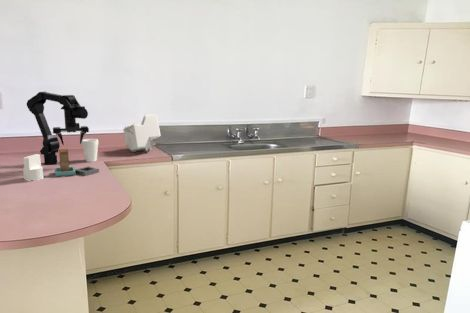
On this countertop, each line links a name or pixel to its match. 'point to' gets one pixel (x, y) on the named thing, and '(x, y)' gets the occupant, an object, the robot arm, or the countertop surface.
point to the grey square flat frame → (86, 171)
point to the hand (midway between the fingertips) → (71, 144)
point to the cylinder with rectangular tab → (33, 167)
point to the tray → (66, 173)
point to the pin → (64, 160)
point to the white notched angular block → (142, 133)
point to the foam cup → (90, 149)
